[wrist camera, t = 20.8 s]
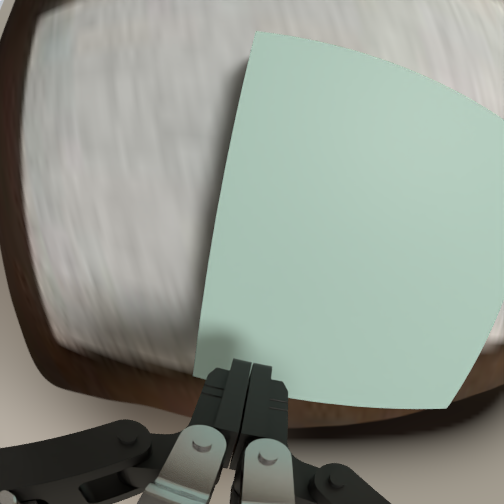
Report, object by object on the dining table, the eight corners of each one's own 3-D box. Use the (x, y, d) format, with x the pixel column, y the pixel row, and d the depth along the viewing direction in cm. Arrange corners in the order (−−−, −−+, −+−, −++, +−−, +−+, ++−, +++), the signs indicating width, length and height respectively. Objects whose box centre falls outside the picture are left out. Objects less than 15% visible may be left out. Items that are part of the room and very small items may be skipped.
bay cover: (257, 38, 11) (255, 31, 10) (528, 144, 10) (536, 143, 9) (196, 367, 16) (192, 375, 15) (442, 401, 15) (446, 408, 14)
